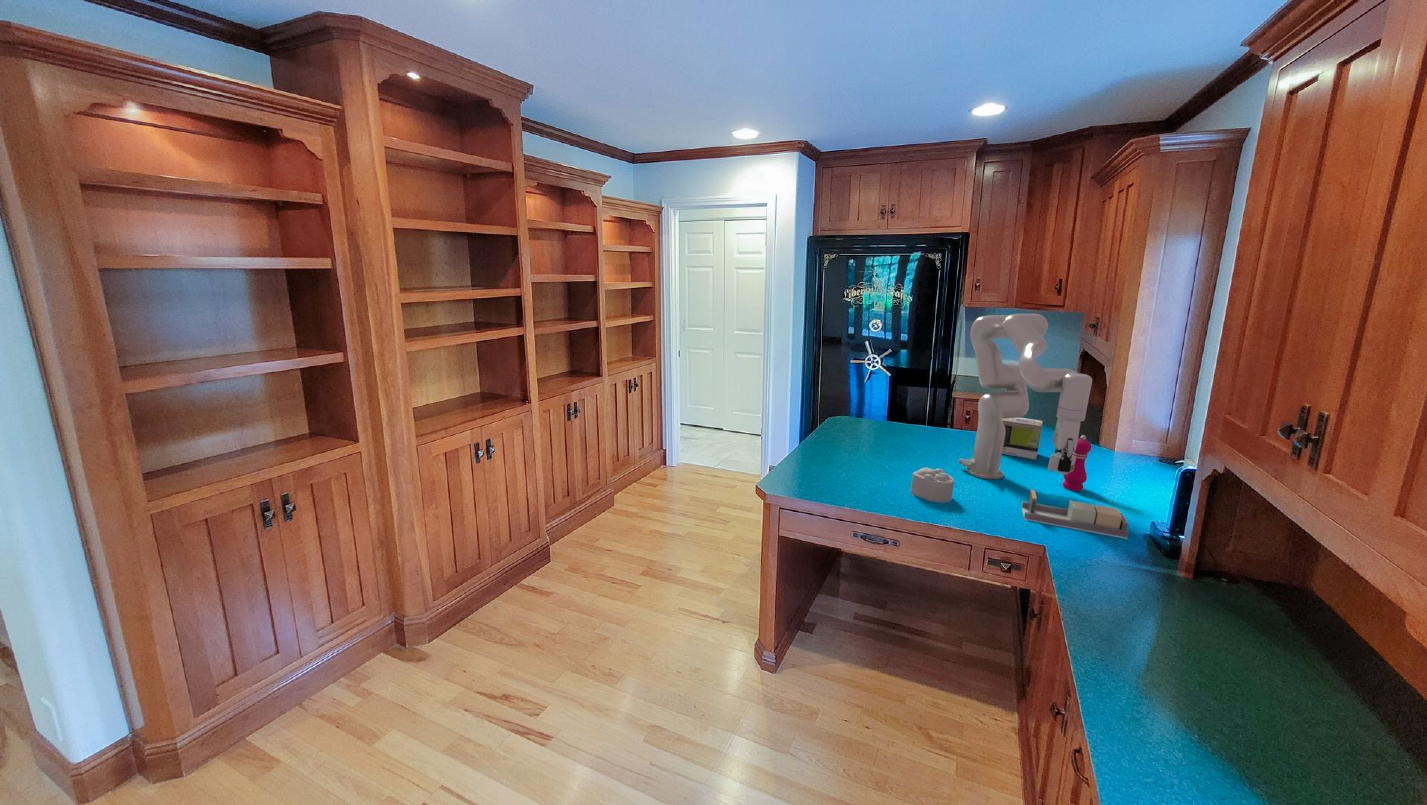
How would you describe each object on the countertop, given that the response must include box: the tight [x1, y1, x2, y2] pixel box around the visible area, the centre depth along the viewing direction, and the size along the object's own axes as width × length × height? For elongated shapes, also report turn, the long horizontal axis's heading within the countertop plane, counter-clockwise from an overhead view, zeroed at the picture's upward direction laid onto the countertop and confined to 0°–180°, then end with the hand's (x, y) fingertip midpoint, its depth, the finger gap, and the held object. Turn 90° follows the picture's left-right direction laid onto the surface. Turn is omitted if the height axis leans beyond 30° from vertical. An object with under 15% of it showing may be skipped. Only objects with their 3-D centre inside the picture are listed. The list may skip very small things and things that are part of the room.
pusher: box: [1028, 489, 1038, 513], centre depth 177 cm, size 1×7×6 cm, turn 157°
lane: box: [1021, 500, 1130, 540], centre depth 173 cm, size 27×11×5 cm, turn 66°
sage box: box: [1067, 500, 1096, 524], centre depth 172 cm, size 6×6×6 cm
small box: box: [1047, 452, 1076, 475], centre depth 176 cm, size 6×6×5 cm
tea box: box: [1002, 417, 1043, 461], centre depth 233 cm, size 15×10×15 cm
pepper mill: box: [1062, 434, 1092, 492], centre depth 199 cm, size 7×7×20 cm
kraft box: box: [1093, 504, 1122, 529], centre depth 170 cm, size 6×6×6 cm
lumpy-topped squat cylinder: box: [910, 467, 955, 503], centre depth 191 cm, size 10×13×9 cm
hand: (1061, 466), depth 176 cm, fingers closed on small box, 7 cm apart
